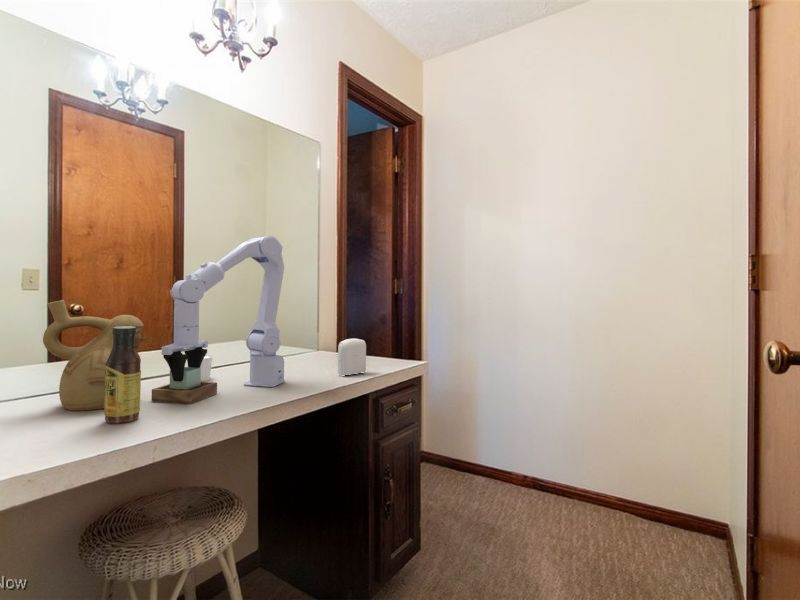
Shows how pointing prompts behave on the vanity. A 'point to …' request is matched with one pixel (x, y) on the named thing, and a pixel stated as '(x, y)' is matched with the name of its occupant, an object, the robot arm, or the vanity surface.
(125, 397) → the sauce bottle
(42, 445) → the vanity surface
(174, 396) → the wooden tray
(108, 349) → the ceramic vessel
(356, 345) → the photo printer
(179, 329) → the robot arm
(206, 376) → the white rounded block
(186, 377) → the mint green block
